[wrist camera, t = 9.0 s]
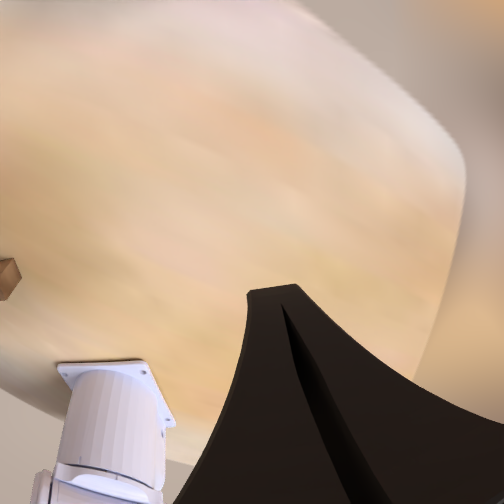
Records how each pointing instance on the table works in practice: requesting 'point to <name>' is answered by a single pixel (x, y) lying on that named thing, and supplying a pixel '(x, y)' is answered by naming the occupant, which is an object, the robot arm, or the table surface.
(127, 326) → the table surface
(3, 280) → the walnut bay
